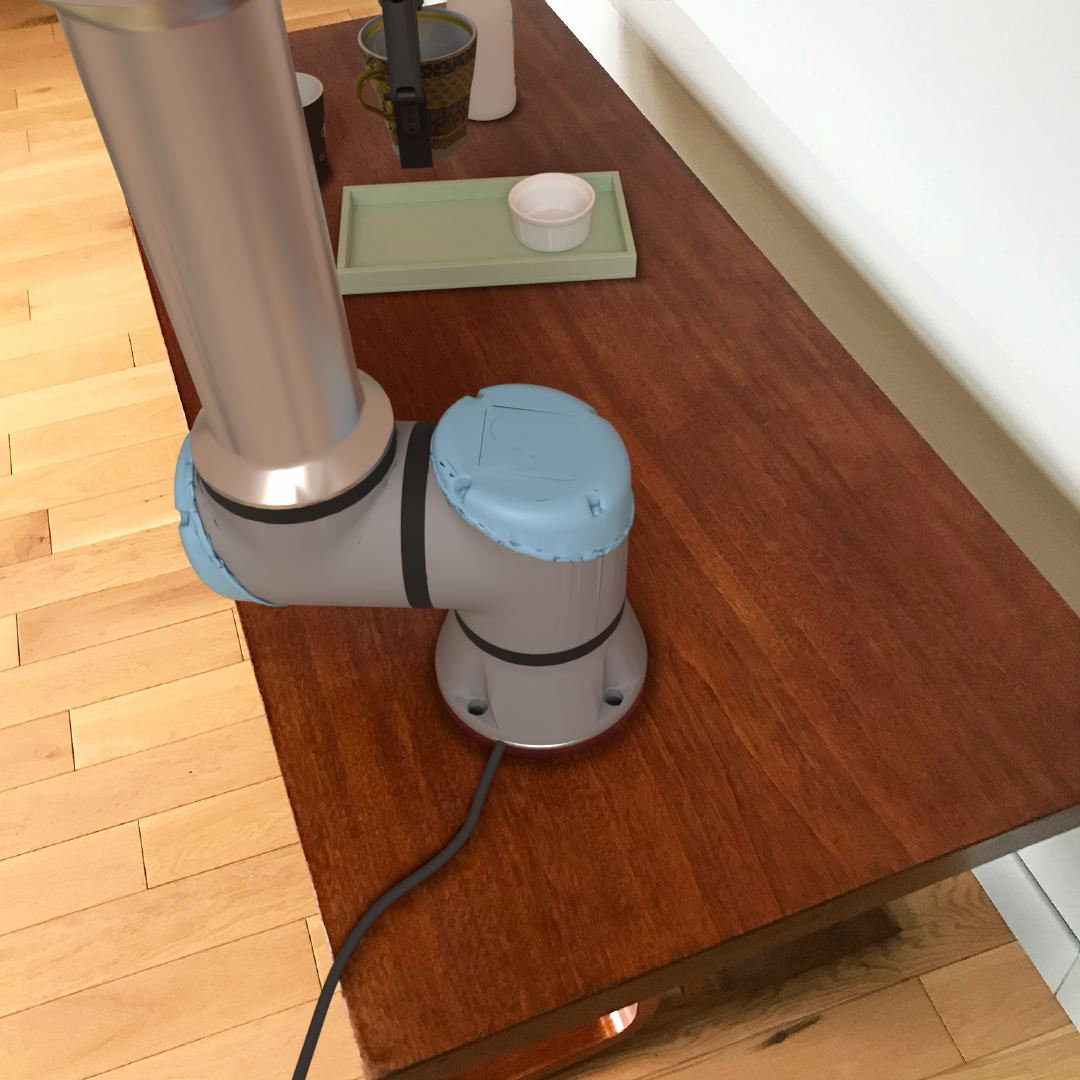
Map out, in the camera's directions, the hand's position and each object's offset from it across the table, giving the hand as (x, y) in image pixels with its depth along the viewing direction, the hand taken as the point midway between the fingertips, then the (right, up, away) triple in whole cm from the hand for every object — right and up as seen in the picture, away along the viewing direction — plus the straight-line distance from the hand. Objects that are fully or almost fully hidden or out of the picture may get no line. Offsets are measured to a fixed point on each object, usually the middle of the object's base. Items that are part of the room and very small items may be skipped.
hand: (417, 132), depth 99 cm
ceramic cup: (0, -2, +1) cm, 2 cm away
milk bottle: (+4, +16, +35) cm, 39 cm away
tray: (+5, -5, +17) cm, 19 cm away
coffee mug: (-16, +5, +27) cm, 32 cm away
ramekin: (+12, -4, +17) cm, 21 cm away
